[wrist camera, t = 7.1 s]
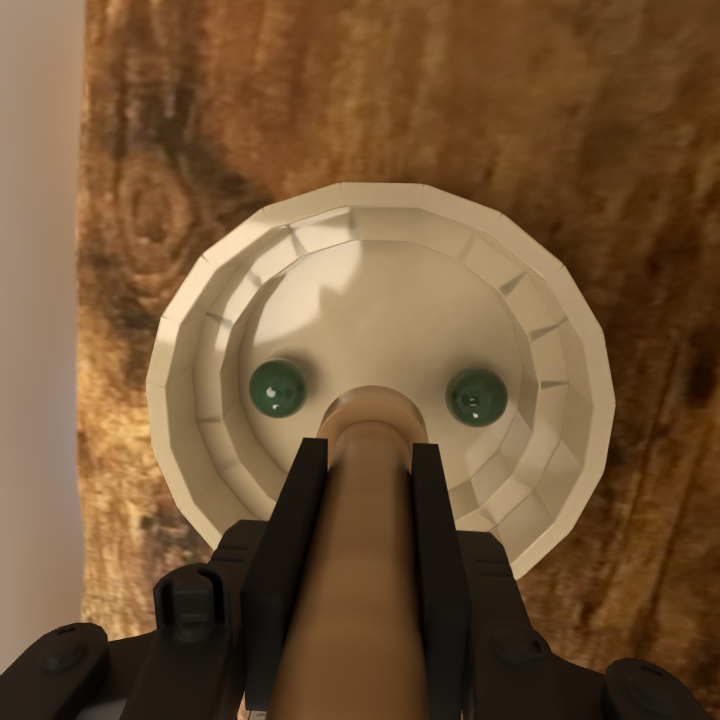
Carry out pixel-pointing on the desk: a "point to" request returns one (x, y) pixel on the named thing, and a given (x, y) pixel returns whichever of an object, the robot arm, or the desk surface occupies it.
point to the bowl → (384, 356)
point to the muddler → (359, 574)
